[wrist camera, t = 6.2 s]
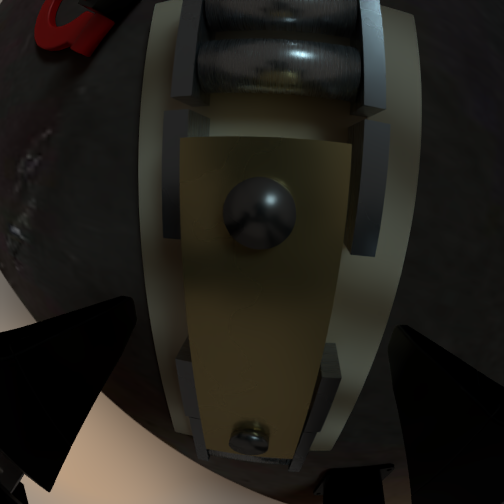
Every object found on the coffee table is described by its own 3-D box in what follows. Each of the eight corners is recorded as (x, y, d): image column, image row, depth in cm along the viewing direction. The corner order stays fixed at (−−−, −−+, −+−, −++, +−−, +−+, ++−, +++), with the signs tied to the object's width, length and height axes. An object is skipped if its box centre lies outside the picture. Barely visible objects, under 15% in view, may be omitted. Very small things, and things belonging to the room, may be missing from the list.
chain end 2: (302, 448, 15) (301, 475, 13) (203, 436, 16) (194, 461, 13) (337, 343, 12) (344, 378, 9) (190, 327, 12) (172, 358, 10)
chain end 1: (199, 0, 7) (181, -27, 5) (367, 6, 7) (382, -21, 5) (185, 221, 11) (160, 237, 9) (360, 236, 10) (377, 257, 8)
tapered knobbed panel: (295, 385, 13) (292, 466, 8) (227, 378, 13) (203, 456, 9) (324, 150, 9) (356, 142, 5) (226, 145, 10) (172, 136, 5)
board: (330, 439, 16) (330, 450, 15) (179, 421, 17) (175, 431, 16) (405, 23, 7) (413, 15, 6) (164, 12, 8) (155, 3, 8)
